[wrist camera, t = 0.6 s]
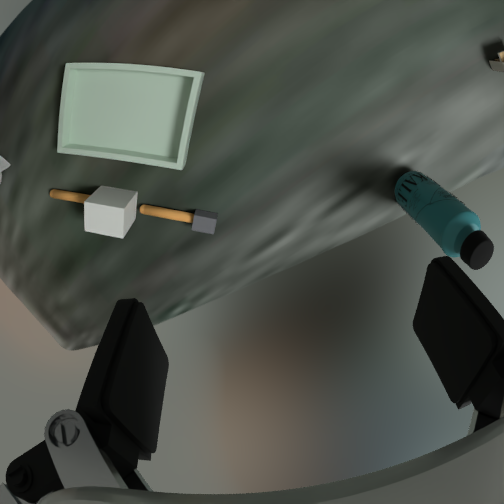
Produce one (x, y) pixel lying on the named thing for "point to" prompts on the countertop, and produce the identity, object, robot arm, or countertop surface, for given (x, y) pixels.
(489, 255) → the beverage bottle
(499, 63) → the architectural model
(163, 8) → the countertop surface
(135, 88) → the tray
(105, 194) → the pale grey cuboid
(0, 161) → the headset
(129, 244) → the countertop surface
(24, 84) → the countertop surface
